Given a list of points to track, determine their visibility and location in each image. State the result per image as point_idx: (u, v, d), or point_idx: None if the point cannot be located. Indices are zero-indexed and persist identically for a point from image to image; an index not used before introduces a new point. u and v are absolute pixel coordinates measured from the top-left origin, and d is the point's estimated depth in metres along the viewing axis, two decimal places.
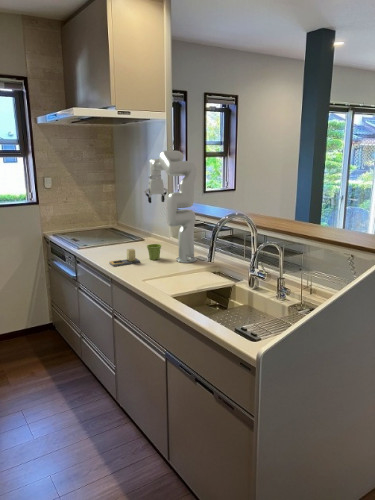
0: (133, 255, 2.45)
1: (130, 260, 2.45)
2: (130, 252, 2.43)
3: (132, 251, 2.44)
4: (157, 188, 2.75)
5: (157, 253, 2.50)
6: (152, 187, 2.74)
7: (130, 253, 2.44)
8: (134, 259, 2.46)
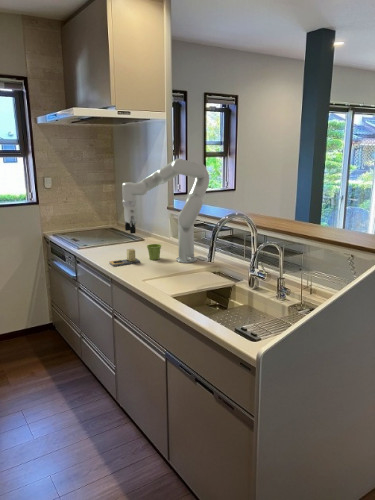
0: (133, 255, 2.45)
1: (130, 260, 2.45)
2: (130, 252, 2.43)
3: (132, 251, 2.44)
4: None
5: (157, 253, 2.50)
6: None
7: (130, 253, 2.44)
8: (134, 259, 2.46)
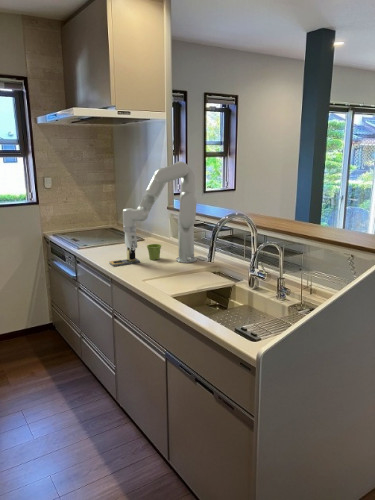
0: None
1: (130, 260, 2.45)
2: None
3: None
4: None
5: (157, 253, 2.50)
6: None
7: None
8: (134, 259, 2.46)
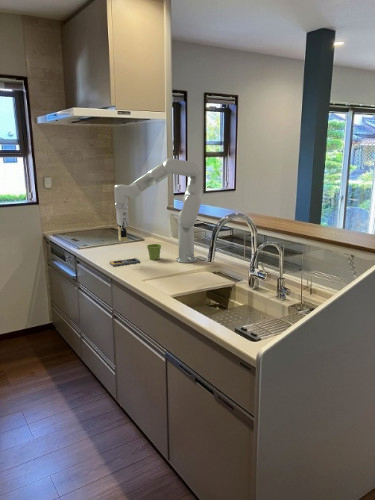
0: None
1: (121, 238, 2.39)
2: None
3: None
4: None
5: (157, 253, 2.50)
6: None
7: None
8: (125, 237, 2.40)
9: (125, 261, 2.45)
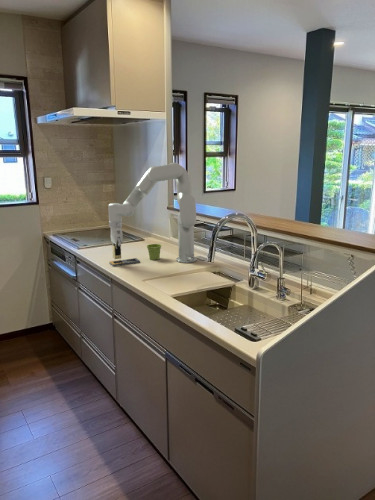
0: None
1: (115, 256, 2.40)
2: (115, 248, 2.39)
3: None
4: None
5: (157, 253, 2.50)
6: None
7: None
8: (120, 255, 2.41)
9: (125, 261, 2.45)
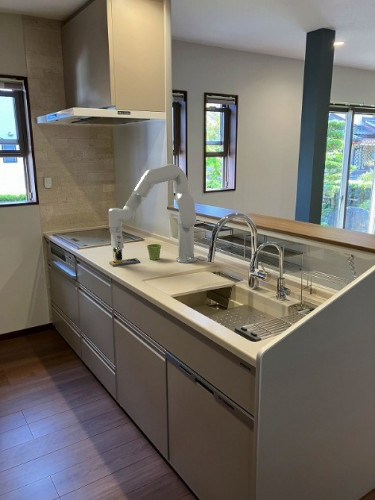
0: None
1: (116, 262, 2.41)
2: (116, 254, 2.40)
3: None
4: None
5: (157, 253, 2.50)
6: None
7: (116, 255, 2.40)
8: (121, 261, 2.42)
9: (125, 261, 2.45)
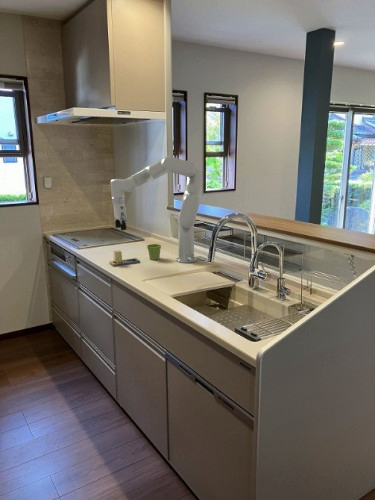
0: (120, 257, 2.41)
1: (116, 262, 2.41)
2: (116, 254, 2.40)
3: (118, 253, 2.40)
4: None
5: (157, 253, 2.50)
6: None
7: (116, 255, 2.40)
8: (121, 261, 2.42)
9: (125, 261, 2.45)
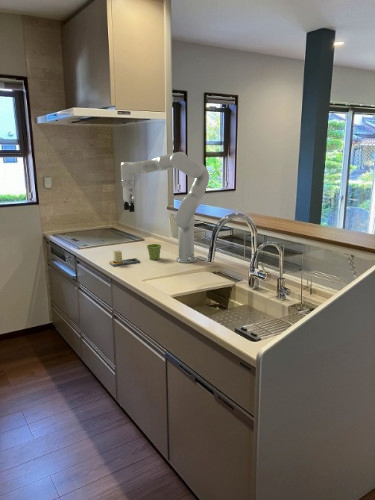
0: (120, 257, 2.41)
1: (116, 262, 2.41)
2: (116, 254, 2.40)
3: (118, 253, 2.40)
4: None
5: (157, 253, 2.50)
6: None
7: (116, 255, 2.40)
8: (121, 261, 2.42)
9: (125, 261, 2.45)
